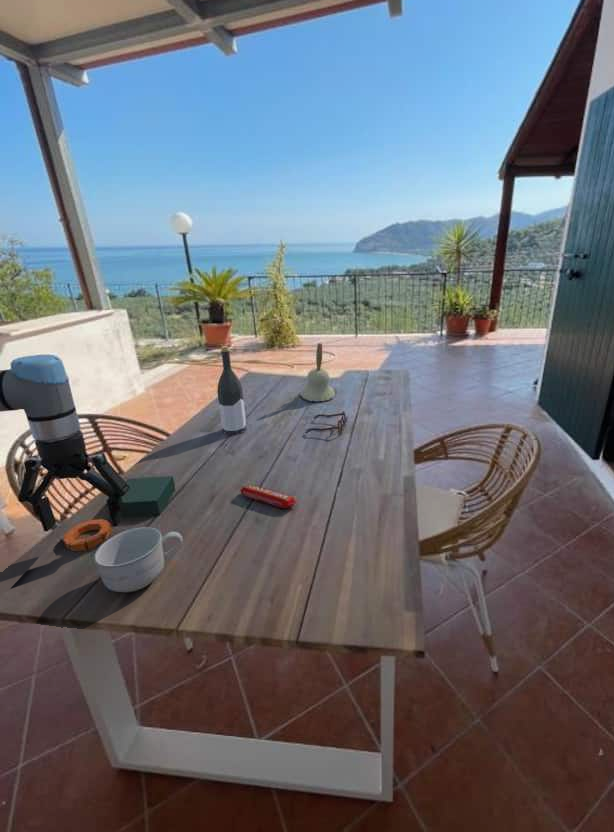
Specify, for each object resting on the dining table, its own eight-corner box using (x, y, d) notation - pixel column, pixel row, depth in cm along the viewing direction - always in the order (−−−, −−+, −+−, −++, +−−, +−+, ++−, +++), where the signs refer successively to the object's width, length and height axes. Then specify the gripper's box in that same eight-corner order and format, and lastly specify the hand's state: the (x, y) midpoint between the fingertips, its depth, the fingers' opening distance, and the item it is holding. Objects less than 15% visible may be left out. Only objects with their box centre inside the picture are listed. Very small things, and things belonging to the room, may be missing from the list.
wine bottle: (232, 424, 142) (222, 343, 132) (251, 427, 139) (242, 344, 129) (217, 433, 135) (206, 348, 124) (237, 436, 132) (226, 349, 122)
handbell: (326, 386, 180) (328, 335, 168) (340, 401, 168) (345, 348, 156) (294, 391, 172) (295, 338, 160) (307, 408, 161) (309, 352, 149)
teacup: (96, 608, 67) (85, 572, 64) (112, 564, 77) (103, 531, 74) (183, 588, 71) (176, 553, 68) (188, 549, 81) (182, 516, 78)
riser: (110, 518, 90) (106, 503, 89) (131, 491, 101) (127, 478, 99) (159, 514, 92) (156, 500, 90) (175, 489, 102) (172, 475, 100)
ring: (57, 552, 80) (54, 545, 79) (79, 526, 88) (77, 520, 87) (99, 549, 81) (97, 542, 80) (117, 523, 88) (116, 518, 88)
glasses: (340, 437, 132) (340, 423, 130) (303, 435, 133) (302, 421, 131) (346, 422, 144) (346, 409, 142) (312, 420, 145) (311, 408, 143)
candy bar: (298, 505, 95) (298, 494, 94) (290, 513, 92) (289, 502, 91) (247, 489, 102) (246, 479, 101) (237, 496, 98) (236, 486, 97)
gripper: (134, 424, 81) (152, 510, 88) (3, 429, 78) (33, 518, 85) (116, 439, 74) (138, 531, 81) (-28, 446, 71) (8, 541, 78)
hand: (84, 525), depth 83 cm, fingers open, 13 cm apart
